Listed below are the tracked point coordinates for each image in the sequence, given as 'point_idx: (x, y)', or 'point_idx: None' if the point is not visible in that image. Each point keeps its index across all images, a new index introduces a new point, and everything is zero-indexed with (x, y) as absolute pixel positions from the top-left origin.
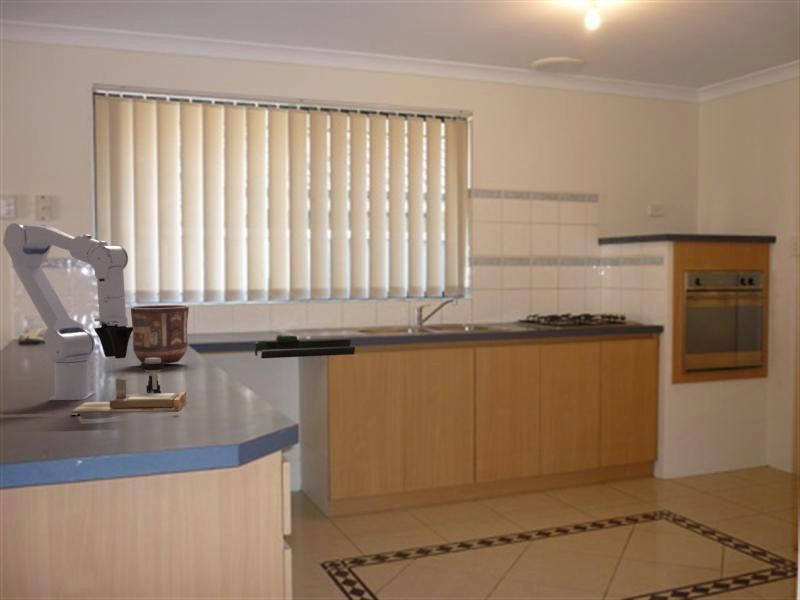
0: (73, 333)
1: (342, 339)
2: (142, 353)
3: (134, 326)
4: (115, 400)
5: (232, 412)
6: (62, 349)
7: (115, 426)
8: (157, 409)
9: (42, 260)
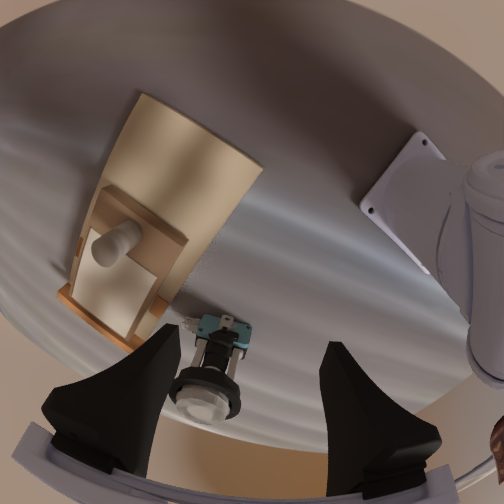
0: None
1: None
2: None
3: None
4: (99, 202)
5: (65, 335)
6: (484, 176)
7: (29, 156)
8: (73, 261)
9: None
